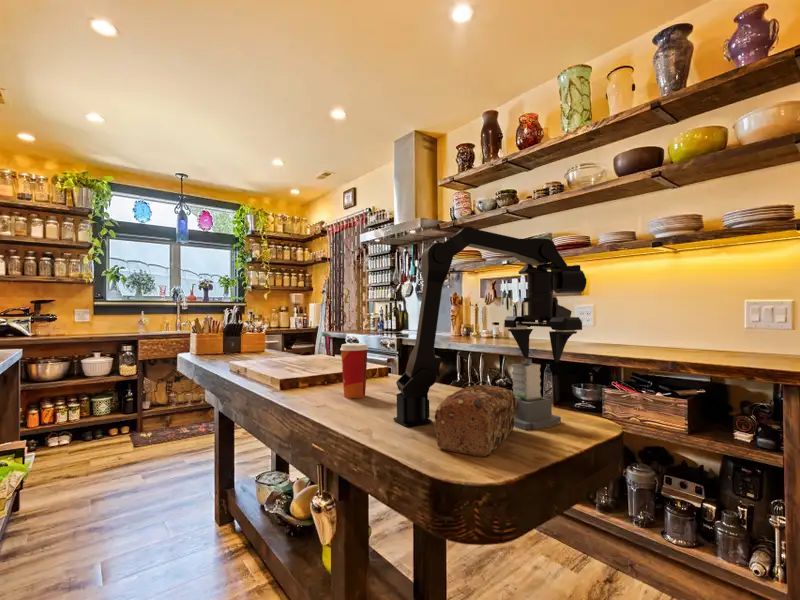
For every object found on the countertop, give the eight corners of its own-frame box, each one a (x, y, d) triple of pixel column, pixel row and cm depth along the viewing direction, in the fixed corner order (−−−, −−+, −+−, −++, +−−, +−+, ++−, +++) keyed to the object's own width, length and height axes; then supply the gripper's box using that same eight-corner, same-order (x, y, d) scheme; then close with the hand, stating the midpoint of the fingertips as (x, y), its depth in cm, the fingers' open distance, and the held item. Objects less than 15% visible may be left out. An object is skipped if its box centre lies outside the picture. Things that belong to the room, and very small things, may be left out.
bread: (489, 461, 66) (488, 400, 66) (431, 450, 71) (430, 393, 72) (518, 430, 82) (517, 381, 82) (468, 423, 87) (468, 377, 88)
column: (525, 406, 86) (525, 366, 86) (512, 402, 89) (511, 364, 89) (541, 403, 88) (540, 364, 88) (527, 400, 91) (527, 362, 92)
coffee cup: (353, 392, 121) (353, 342, 121) (374, 395, 116) (374, 343, 117) (333, 397, 114) (333, 344, 115) (355, 401, 109) (354, 346, 110)
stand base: (528, 431, 81) (527, 403, 81) (491, 418, 90) (491, 393, 91) (564, 423, 86) (563, 397, 86) (526, 412, 96) (525, 388, 96)
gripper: (598, 292, 90) (599, 362, 90) (534, 295, 107) (535, 354, 106) (564, 291, 85) (564, 365, 85) (502, 294, 101) (503, 356, 101)
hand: (540, 359), depth 94 cm, fingers open, 9 cm apart
